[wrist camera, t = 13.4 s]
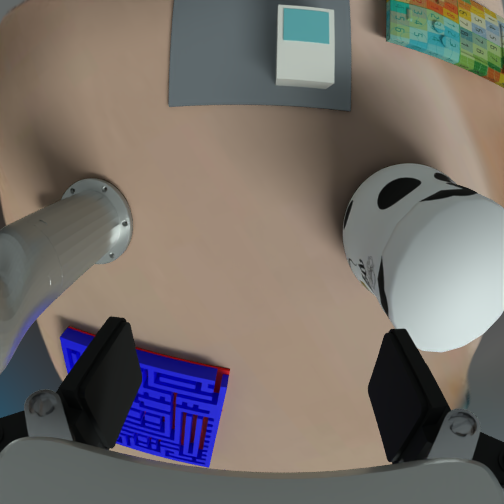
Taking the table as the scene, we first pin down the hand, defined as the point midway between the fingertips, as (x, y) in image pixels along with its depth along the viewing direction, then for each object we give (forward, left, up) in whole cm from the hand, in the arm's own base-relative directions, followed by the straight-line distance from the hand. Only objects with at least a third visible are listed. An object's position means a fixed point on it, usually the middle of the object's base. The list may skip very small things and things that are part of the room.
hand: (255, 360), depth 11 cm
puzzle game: (+25, +26, -31) cm, 47 cm away
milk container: (+18, -3, -31) cm, 36 cm away
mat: (-1, +20, -30) cm, 36 cm away
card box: (+4, +18, -30) cm, 35 cm away
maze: (-22, -41, -31) cm, 56 cm away
